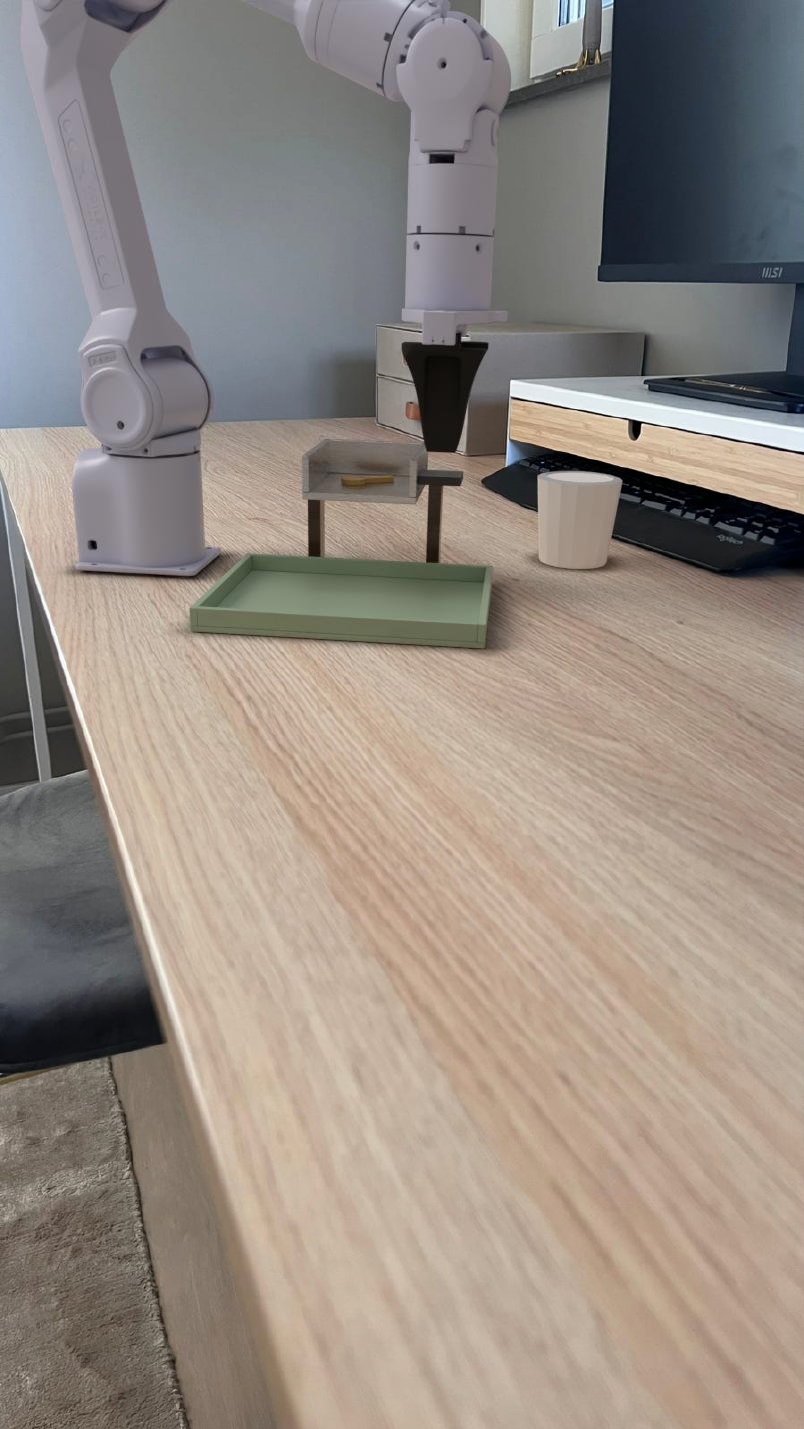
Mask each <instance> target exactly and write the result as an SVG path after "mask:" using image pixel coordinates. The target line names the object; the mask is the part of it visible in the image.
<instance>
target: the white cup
mask: <svg viewBox="0 0 804 1429" xmlns="http://www.w3.org/2000/svg"><path fill="white" fill-rule="evenodd" d="M622 485H623V480H622V479H621V478H620V477H619V476H615V475H612V474H606V473H600V472H595V471H594V472H593V471H583V470H557V471H556V470H555V471H548V472H542V473H540V474H538V475H537V523H538V524H537V526H538V527H537V528H538V530H537V531H538V533H537V534H538V535H537V536H538V538H537V539H538V559H539V562H540V563H543V564H545V565H547V566H551V567H555V568H562V569H568V570H569V569H570V570H590V569H598V568H601V567H604V566H605V565H606V564H607V561H608V556H609V551H610V547H611V541H612V538H613V537H612V536H613V531H614V526H615V521H616V516H617V511H618V507H619V500H620V495H621V490H622Z"/></svg>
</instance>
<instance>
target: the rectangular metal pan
mask: <svg viewBox="0 0 804 1429" xmlns="http://www.w3.org/2000/svg"><path fill="white" fill-rule="evenodd" d="M428 464H429V452H427V451H426V448H425V444H424V442H417V441H416V442H414V441H393V440H392V441H389V440H369V439H368V440H367V439H366V440H365V439H364V440H363V439H341V438H324V439H322V440H321V441H319V443H317V444H316V445H315V446H313V447H312V448H310V449H309V450H308V451H306V452H305V453H304V454H302V455H301V491H302V493H301V498H302V500H306V501H308V500H325V501H330V502H331V501H332V502H354V503H370V504H371V503H374V504H375V503H376V504H395V505H396V504H397V505H415V506H416V505H417V502H418V501H419V499H420V496H421V495H422V493H423V491H424V489H425V487H426V486H429V485H438V486H443V487H444V486H445V487H461V486H462V483H463V480H464V471H463V470H447V469H445V470H443V469H428V468H429V467H428ZM388 475H391V476H393V477H394V482H386V483H366V484H364V485H344V484H342V483H341V478H342V477H344V476H361V477H367V476H388Z"/></svg>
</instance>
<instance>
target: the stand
mask: <svg viewBox="0 0 804 1429" xmlns="http://www.w3.org/2000/svg"><path fill="white" fill-rule="evenodd" d="M427 490H428V491H427V492H428V494H427V517H426V518H427V519H426V520H427V521H426V545H425V546H426V550H425V551H426V552H425V562H426V563H441V554H442V553H441V551H442V550H441V548H442V528H443V526H442V525H443V502H444V486H438V485H428V488H427ZM325 502H326V500H307V556H310V557H326V534H325V532H326V529H325V528H326V526H325V524H326V518H325V515H326V513H325V511H326V510H325V509H326V508H325V507H326V506H325V505H326V504H325Z"/></svg>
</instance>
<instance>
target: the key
mask: <svg viewBox="0 0 804 1429" xmlns="http://www.w3.org/2000/svg"><path fill="white" fill-rule="evenodd" d="M386 482H394V477H393V476H391V475H388V476H367V477H361V476H344V477H342V478H341V483H342V484H344V485H364V484H366V483H386Z"/></svg>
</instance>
